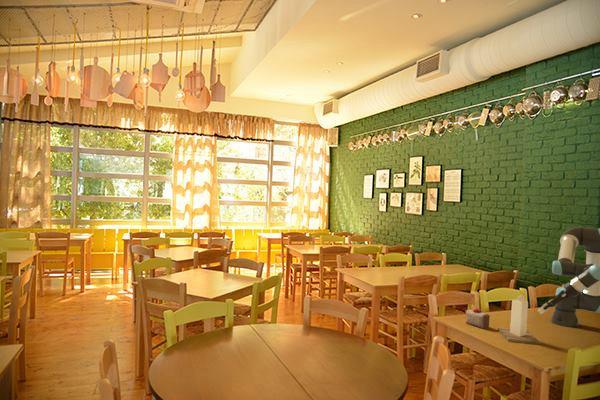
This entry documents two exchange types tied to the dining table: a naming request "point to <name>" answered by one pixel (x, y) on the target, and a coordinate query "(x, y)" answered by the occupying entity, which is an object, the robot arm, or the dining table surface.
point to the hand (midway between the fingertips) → (541, 309)
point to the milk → (519, 316)
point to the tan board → (513, 338)
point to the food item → (477, 318)
